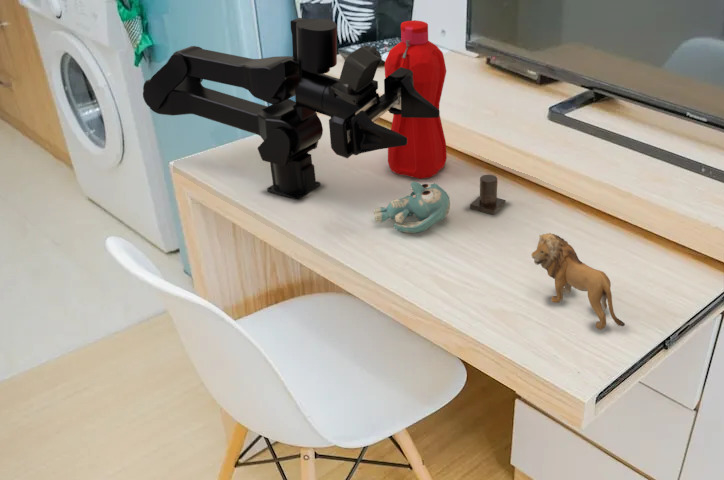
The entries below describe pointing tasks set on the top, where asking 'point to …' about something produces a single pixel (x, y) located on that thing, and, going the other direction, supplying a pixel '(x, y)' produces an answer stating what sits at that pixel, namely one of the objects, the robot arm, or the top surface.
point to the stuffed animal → (417, 208)
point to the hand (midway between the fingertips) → (423, 127)
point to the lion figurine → (574, 275)
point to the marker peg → (488, 196)
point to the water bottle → (428, 79)
